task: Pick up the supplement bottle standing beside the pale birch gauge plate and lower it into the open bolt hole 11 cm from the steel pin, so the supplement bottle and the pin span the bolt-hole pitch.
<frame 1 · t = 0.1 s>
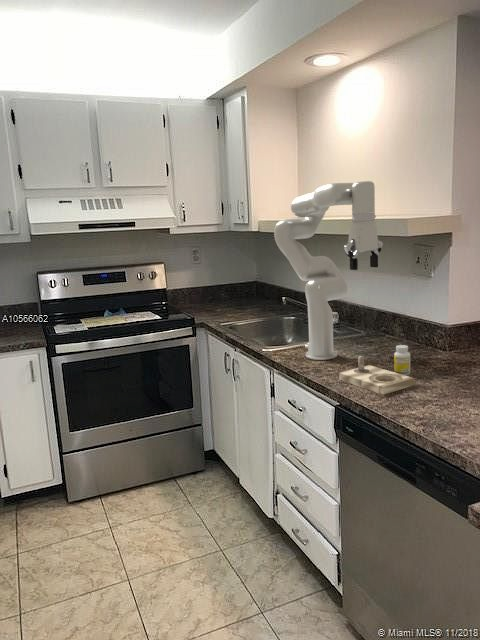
hand: (364, 268, 181), 37 cm above the counter, tool pointing down, fingers open, 9 cm apart
gauge plate: (375, 382, 173), on the counter
supplement bottle: (402, 374, 181), on the counter
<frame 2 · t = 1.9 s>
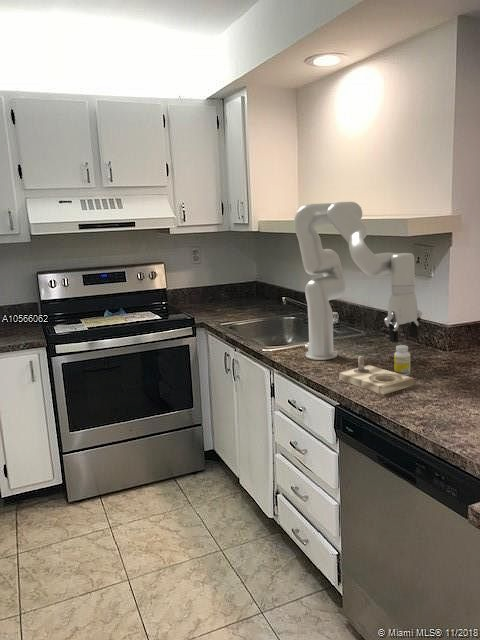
hand: (403, 339, 178), 12 cm above the counter, tool pointing down, fingers open, 9 cm apart
nothing on the counter moved.
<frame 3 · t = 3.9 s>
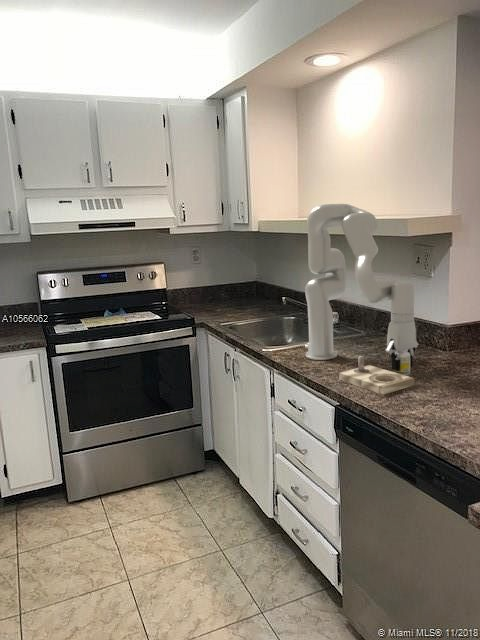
hand: (402, 367, 181), 2 cm above the counter, tool pointing down, fingers closed on supplement bottle, 5 cm apart
supplement bottle: (402, 373, 181), on the counter, touching gripper
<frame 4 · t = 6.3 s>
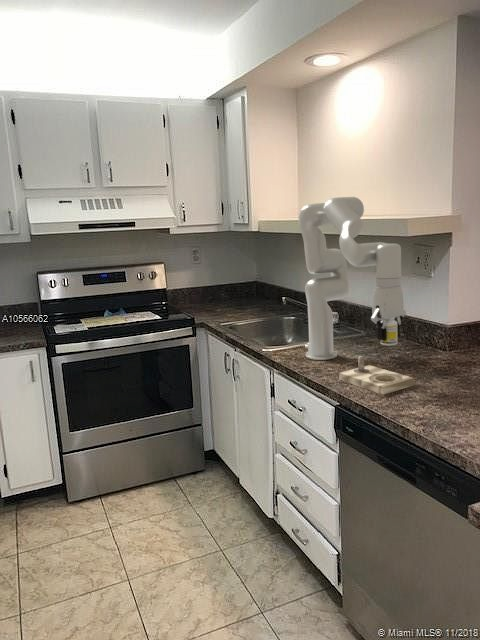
hand: (388, 337, 168), 16 cm above the counter, tool pointing down, fingers closed on supplement bottle, 5 cm apart
supplement bottle: (388, 344, 168), point 13 cm above the counter, touching gripper
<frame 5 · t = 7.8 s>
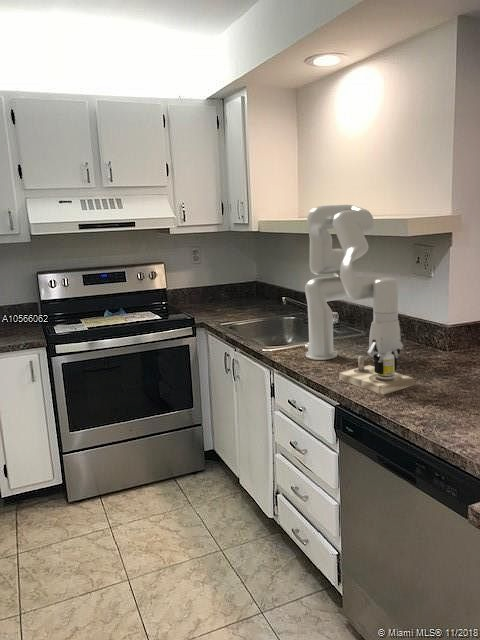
hand: (385, 370, 168), 5 cm above the counter, tool pointing down, fingers closed on supplement bottle, 5 cm apart
supplement bottle: (385, 377, 169), point 3 cm above the counter, touching gripper
when the fingers open (3 cm above the counter, at t = 8.9 s): supplement bottle drops 1 cm, resting in gauge plate.
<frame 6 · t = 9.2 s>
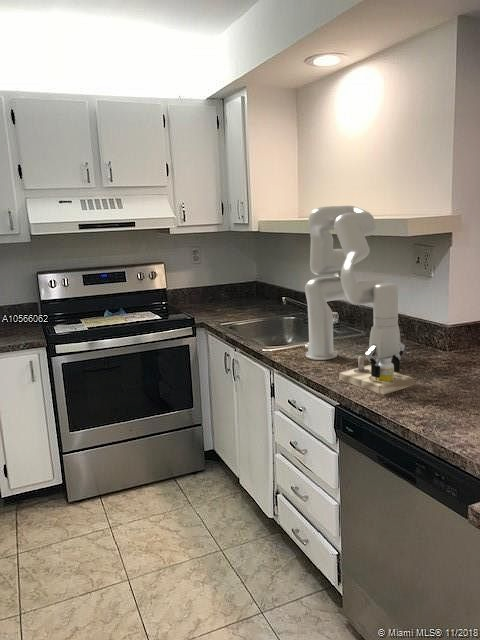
hand: (385, 373, 168), 4 cm above the counter, tool pointing down, fingers open, 8 cm apart
supplement bottle: (385, 386, 169), resting in gauge plate
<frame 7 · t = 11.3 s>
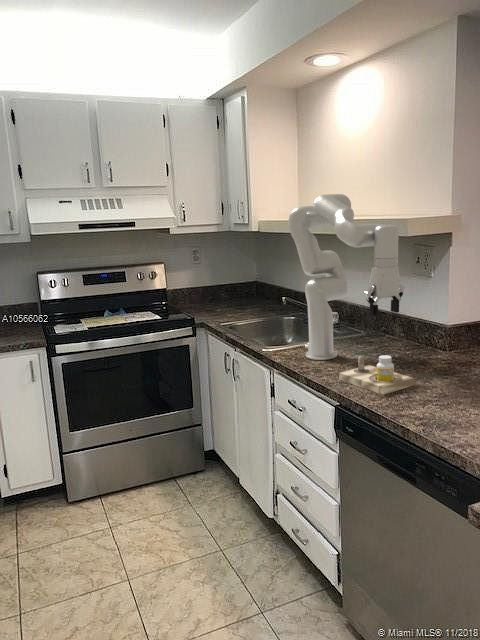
hand: (384, 313, 174), 22 cm above the counter, tool pointing down, fingers open, 9 cm apart
nothing on the counter moved.
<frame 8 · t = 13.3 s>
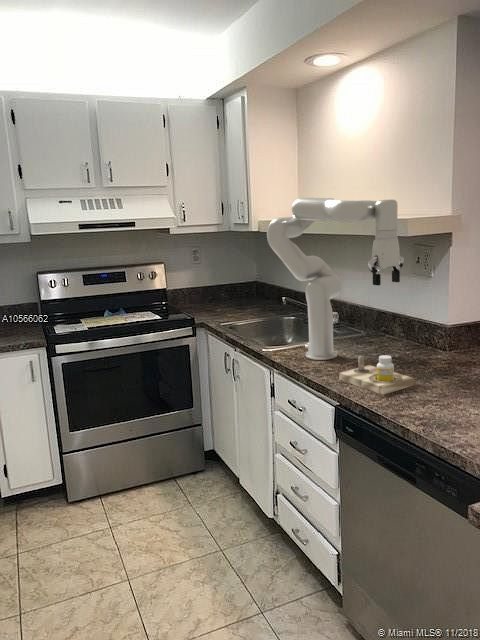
hand: (386, 283, 186), 30 cm above the counter, tool pointing down, fingers open, 9 cm apart
nothing on the counter moved.
at the end: supplement bottle 0.1 cm from the target spot in the gauge plate, point 0.0 cm above the gauge plate's base; supplement bottle tilted 0°; the gripper is holding nothing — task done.
